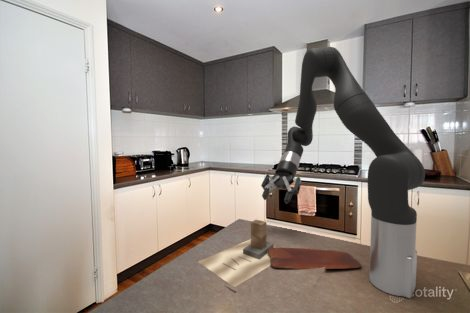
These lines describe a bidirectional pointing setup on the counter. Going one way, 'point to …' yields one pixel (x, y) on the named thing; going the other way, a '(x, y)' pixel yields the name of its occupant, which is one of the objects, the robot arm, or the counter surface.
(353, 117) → the robot arm
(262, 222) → the block
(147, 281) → the counter surface
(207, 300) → the counter surface
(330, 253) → the wooden tablet
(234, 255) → the birch board
